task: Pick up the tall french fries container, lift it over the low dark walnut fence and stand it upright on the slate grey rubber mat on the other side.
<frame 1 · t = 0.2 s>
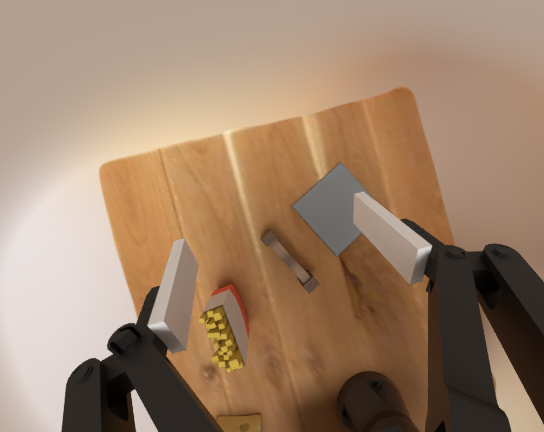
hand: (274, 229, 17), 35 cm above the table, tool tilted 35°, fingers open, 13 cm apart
slate mat: (338, 209, 53), on the table
walnut fence: (286, 256, 52), on the table
french fries container: (232, 305, 51), on the table
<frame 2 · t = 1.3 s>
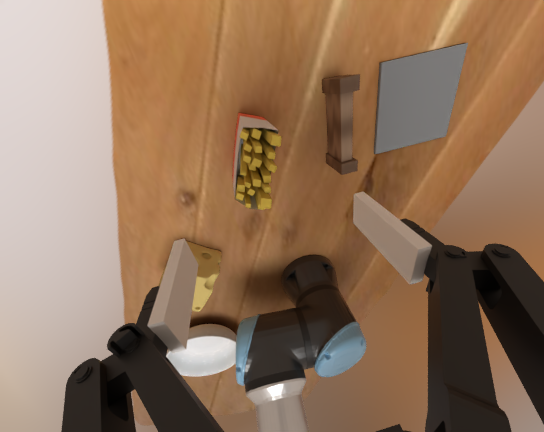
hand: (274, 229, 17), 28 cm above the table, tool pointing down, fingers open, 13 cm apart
slate mat: (415, 103, 42), on the table
serving bowl: (206, 334, 68), on the table
cheese: (191, 259, 52), on the table
walnut fence: (331, 123, 42), on the table
french fries container: (244, 144, 41), on the table
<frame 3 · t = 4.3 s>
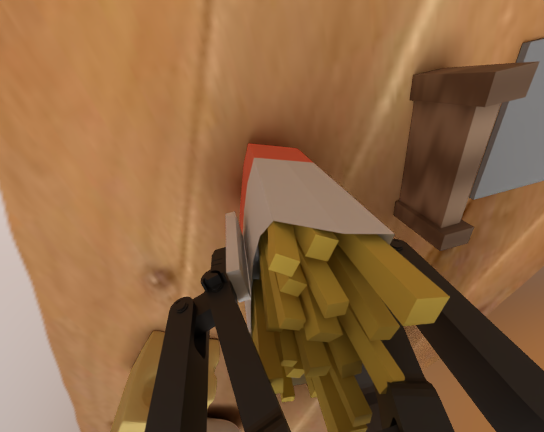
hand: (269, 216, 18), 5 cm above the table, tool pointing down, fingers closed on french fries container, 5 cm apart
serving bowl: (199, 424, 50), on the table
cheese: (174, 351, 34), on the table
walnut fence: (414, 153, 23), on the table
french fries container: (259, 192, 23), on the table, touching gripper
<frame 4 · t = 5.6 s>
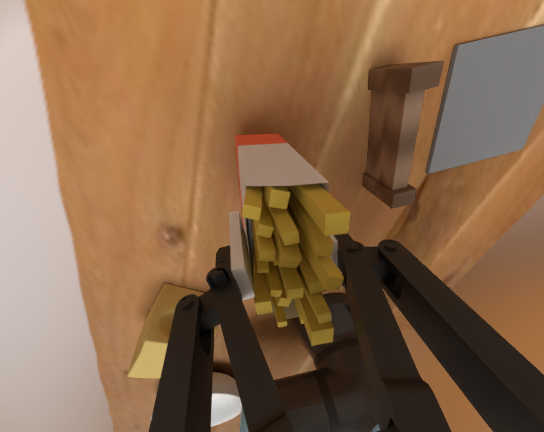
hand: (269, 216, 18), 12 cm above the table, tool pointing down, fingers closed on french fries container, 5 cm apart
slate mat: (491, 105, 30), on the table
serving bowl: (202, 380, 57), on the table
cheese: (181, 305, 41), on the table
walnut fence: (375, 133, 29), on the table
french fries container: (254, 177, 26), point 3 cm above the table, touching gripper
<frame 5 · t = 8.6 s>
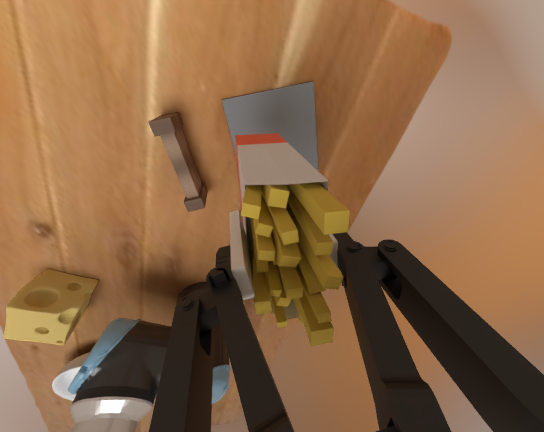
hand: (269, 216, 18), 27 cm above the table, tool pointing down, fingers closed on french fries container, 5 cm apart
slate mat: (275, 138, 42), on the table
serving bowl: (110, 358, 66), on the table
cheese: (68, 287, 51), on the table
walnut fence: (186, 157, 41), on the table
french fries container: (254, 177, 26), point 18 cm above the table, touching gripper
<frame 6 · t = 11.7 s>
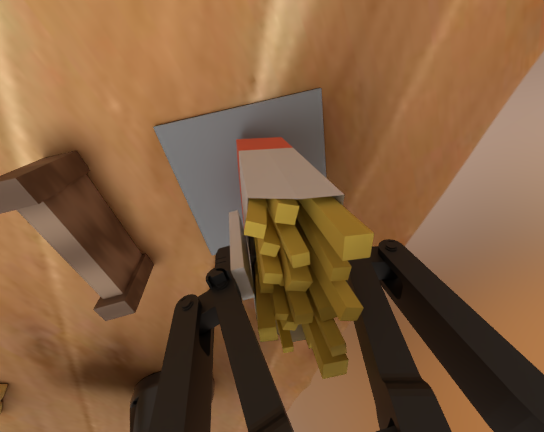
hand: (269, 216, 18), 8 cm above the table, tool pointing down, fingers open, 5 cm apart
slate mat: (257, 182, 25), on the table
walnut fence: (107, 220, 24), on the table
french fries container: (256, 183, 25), resting on slate mat
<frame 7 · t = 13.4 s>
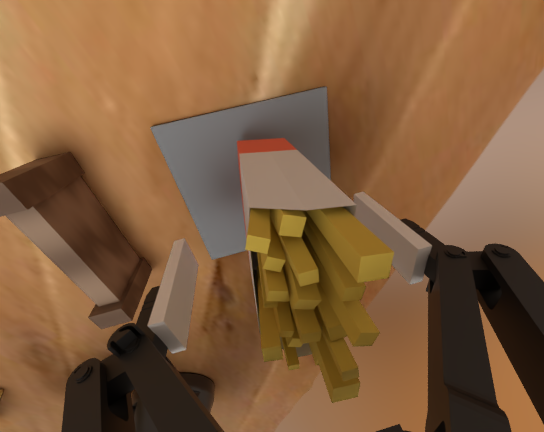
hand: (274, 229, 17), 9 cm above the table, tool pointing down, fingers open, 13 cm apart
slate mat: (259, 185, 24), on the table
walnut fence: (103, 224, 23), on the table
french fries container: (258, 185, 24), resting on slate mat
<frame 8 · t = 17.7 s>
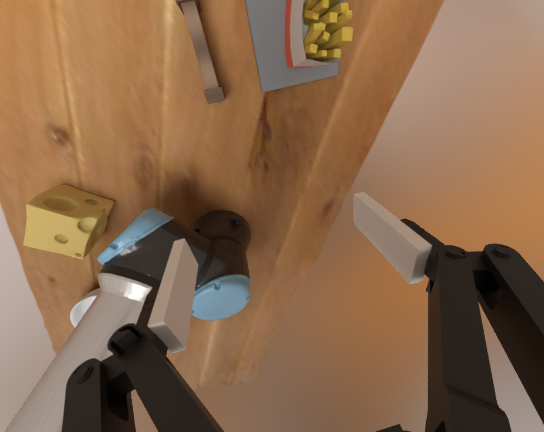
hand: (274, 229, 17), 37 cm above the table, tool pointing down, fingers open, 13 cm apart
slate mat: (295, 33, 40), on the table
serving bowl: (126, 298, 66), on the table
cheese: (85, 209, 50), on the table
walnut fence: (204, 53, 39), on the table
french fries container: (294, 32, 40), resting on slate mat
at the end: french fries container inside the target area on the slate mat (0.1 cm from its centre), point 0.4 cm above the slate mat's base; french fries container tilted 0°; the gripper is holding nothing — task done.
